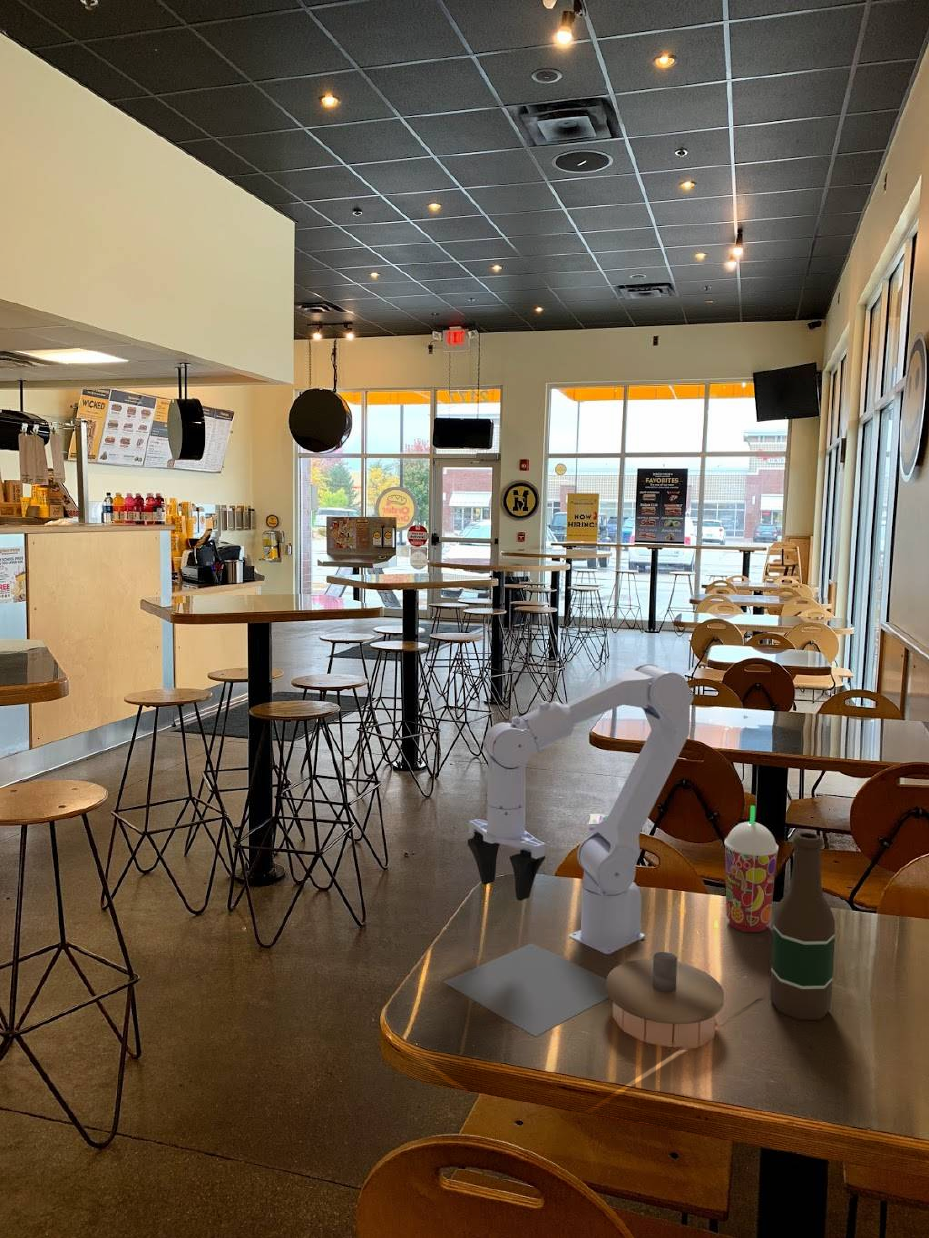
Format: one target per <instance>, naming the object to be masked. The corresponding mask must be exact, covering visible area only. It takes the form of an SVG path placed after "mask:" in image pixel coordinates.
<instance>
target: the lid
mask: <svg viewBox="0 0 929 1238" xmlns="http://www.w3.org/2000/svg"><path fill="white" fill-rule="evenodd" d="M606 979H607V980H606V990H607V993H608V996H609V999H610V1000H611V1002H612V1003H613V1002H614V1003H615V1004H616V1005H617V1006H618V1007H620V1008H621V1009H623V1010H624V1011H626V1012H628V1013H630V1014H632V1015H634V1016H637V1017H639V1018H642V1019H646V1020H649V1021H654V1022H659V1023H666V1024H690V1023H697V1022H701V1021H704V1020H707V1019H709V1018H712V1017H713V1016H715V1015H716V1016H717V1014H719V1012H721V1011H722V1009H723V1007H724V1001H725V1000H724V999H725V997H724V995H725V993H724V989H723V987H722V985H721V984H720V983H719V982H718V981H717V979H716V978H714V977H713V976H712V975H711V974H709V973H707V972H706V971H703V970H701V969H700V968H697V967H695V966H692V965H690V964H688V963H684V962H680V961H678V957H677V956H676V955H675V954H673V953H670V952H667V951H666V952H665V951H659V952H656V953H654V954H653V958H643V959H635V960H631V961H630V960H629V961H627V962H624V963H621V964H619V965H617V966H615V967H614V968H613V969H612V970H611V971H610V972H608V974H607V977H606Z"/></svg>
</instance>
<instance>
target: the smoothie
mask: <svg viewBox="0 0 929 1238" xmlns="http://www.w3.org/2000/svg"><path fill="white" fill-rule="evenodd" d="M755 815H756V806H754V805H750V816H749V817H750V818H749V821H744V822H741V823H738V824H737V825H735V826H734V827H733V828H731V830H730V832H729V833H728V835H727V837H726V838H725V839H724V841H723V842H724V845H725V846H724V862H725V863H724V864H725V872H724V873H725V897H726V898H725V902H726V903H725V906H726V908H725V909H726V912H725V913H726V917H727V919H728V920H729V921H728V922H729V924H730V926H731V927H733V928H734V929H736V930H738V931H741V932H744V933H761V932H763V931H765V930H766V929H767V925H768V924H770V922H771V914H772V913H771V912H772V905H773V896H774V887H775V879H776V869H777V862H778V852H779V845H778V844H777V843H776V839H775V836H774V835H773V834H772V832H771V831H770V830H769V829H768V828H767V827H766V826H764V825H763V824H761V823H759V822H756V821H755Z"/></svg>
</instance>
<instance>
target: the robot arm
mask: <svg viewBox="0 0 929 1238" xmlns="http://www.w3.org/2000/svg"><path fill="white" fill-rule="evenodd" d="M694 699H695V698H694V695H693V692H692V690H691V687H690V685H689V684H688V681H687V680H686V678H685V677H684V676H682V674H679V673H677V672H674V671H668V670H667V669H663V668H661V667H659V666H658V665H655V664H652V663H643V664H640V665H638V666H636V667H635V668H630V669H627V670H624V671H623V672H622V673H620V674H619V675H618V676H616V677H615V678H613V679H610V680H608V681H607V682H605V683H603V684H602V685H599V686H598V687H595V688H594V689H592V690H589V692H587V693H583V695H581V696H579V697H577V698H575V699H573V700H571V701H569V702H567V703H565V704H564V703H561V702H559V701H555V700H554V701H552V702H549V701H547V700H545V701H544V700H543V701H542V702H540V703H539V704H538V705H539V708H536V709H534V710H532V711H530V712H527V713H526V714H524V715H522V716H518V715H515V716H513V717H511V718H510V720H511V723H510V722H504V721H503V722H502V721H501V722H499V723H495V724H494V725H493V726H491V727H490V728H489V731H487V733H486V735H485V737H484V739H483V740H482V743H483V747H484V751H485V752H486V753H487V754H488V768H487V769H488V772H487V797H486V798H487V800H486V801H487V802H486V803H487V808H486V812H487V813H486V815H487V818H486V820H484V819H482V818H481V819H480V818H476V819H472V820H469V822H468V834H470V835H473V837H471V838H469V839H467V846H468V848H469V849H470V850H471V852H472V855H473V858H474V859H475V863H476V866H477V868H478V869H477V870H478V874H479V877H480V881H481V884H482V885H484V886H486V885H489V884H491V883H492V884H493V882H495V879H496V870H497V858H498V853H499V852H498V851H499V849H500V844H501V845H504V846H507V847H510V848H512V849H515V850H517V851H519V853H517V854H513V855H510V856H509V860H510V861H509V862H510V863H511V865H512V870H513V873H514V874H513V875H514V884H515V885H514V886H515V890H514V891H515V897H516V900H517V901H519V902H520V901H523V900H527V899H529V898H530V897H531V896H530V895H531V893H532V892H531V890H532V888H533V884H534V881H535V878H536V876H537V873H538V872H539V869H540V867H541V865H542V864H543V862H544V860H545V859H546V843H545V842H543V841H541V840H539V839H537V838H536V837H534V836H533V835H532V834H530V833H529V832H528V831H526V788H527V784H526V782H527V781H526V777H527V776H526V764H527V763H528V761H529V760H530V759H531V756H532V755H533V754H534V753H537V752H539V751H541V750H544V749H545V748H547V747H549V746H552V745H553V744H556V743H559V742H560V741H562V740H564V739H566V738H569V737H570V736H571V735H572V734H573V731H574V729H575V727H576V725H577V724H579V723H582V722H584V721H587V720H589V719H592V718H594V717H596V716H597V717H598V716H599V715H602V714H604V713H606V712H608V711H611V710H613V709H615V708H618V707H621V706H629V707H634V708H635V707H636V708H640V709H642V711H643V712H644V715H645V717H646V719H647V722H648V724H649V727H650V733H649V735H648V736H647V738H646V740H645V742H644V744H643V746H642V748H641V750H640V752H639V754H638V756H637V758H636V760H635V762H634V764H633V766H632V768H631V770H630V772H629V774H628V776H627V778H626V780H625V783H624V784H623V786H622V787H621V788H622V789H621V791H620V792H619V794H618V796H617V798H616V801H615V803H614V804H613V806H612V808H611V810H610V813H608V814H609V816H608V818H607V819H606V820H604V821H602V822H601V823H599V824H597V825H596V826H595V828H594V830H593V832H592V833H591V835H590V836H588V837H587V836H586V838H584V839H583V840H582V842H581V843H580V844H579V846H578V849H577V855H576V857H577V861H578V864H579V866H580V867H581V868H582V869H583V877H582V878H581V879H582V880H581V908H580V909H581V910H580V912H581V915H580V917H581V919H580V929H579V930H577V931H575V932H573V933H570V934H569V935H568V937H569V938H570V939H573V940H574V941H577V942H578V943H581V944H583V945H585V946H588V947H589V948H592V949H595V950H597V951H598V952H601V953H603V954H605V955H611V954H612V953H614V952H616V951H619V950H621V949H623V948H625V947H626V946H629V945H631V944H633V943H635V942H637V941H641V940H643V939H645V937H646V936H645V934H644V933H642V932H641V929H642V928H641V925H642V924H641V923H642V922H641V921H642V919H641V918H642V895H641V892H640V890H639V887H638V885H637V884H636V882H634V881H635V877H636V870H637V869H636V867H637V862H638V860H639V858H640V855H641V849H640V842H639V841H640V839H639V836H640V834H641V833H642V831H643V827H644V826H645V824H646V822H647V820H648V818H649V816H650V814H651V812H652V810H653V808H654V806H655V804H656V802H657V800H658V798H659V796H660V794H661V792H662V790H663V788H664V786H665V784H666V782H667V780H668V778H669V776H670V774H671V772H672V770H673V768H674V766H675V764H676V762H677V760H678V758H679V755H680V754H681V752H682V749H683V748H684V746H685V744H686V742H687V740H688V738H689V736H690V726H691V725H690V723H691V722H690V721H691V720H690V719H691V718H690V717H691V716H690V715H691V712H690V711H691V706H692V703H693V701H694Z"/></svg>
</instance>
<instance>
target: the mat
mask: <svg viewBox="0 0 929 1238" xmlns="http://www.w3.org/2000/svg"><path fill="white" fill-rule="evenodd" d="M606 980H607V978H605V977H602V976H600V975H598V974H596V973H594V972H592V971H590V970H588V969H586V968H584V967H582V966H580V965H578V964H576V963H575V962H572V961H569V960H568V959H566V958H564V957H561V956H559V955H558V954H556V953H553V952H551V951H549V950H547V949H545V948H543V947H541V946H539V945H537V944H535V943H533V942H530V943H529V944H526V945H524V946H522V947H520V948H518V949H515V950H513V951H511V952H508V953H505V954H504V955H502V956H500V957H497V958H494V959H492V960H491V961H488V962H485V963H483V964H480V965H478V966H476V967H474V968H472V969H470V970H466V971H465V972H462V973H460V974H458V975H456V976H453V977H451V978H449V979H447V980H444V981H443V983H444V984H446V985H447V986H448V987H451V988H452V989H453V990H455V991H456V992H459V993H460V994H462V995H464V996H465V997H467V998H469V999H470V1000H473V1001H474V1002H475V1003H478V1004H479V1005H481V1006H482V1007H484V1008H486V1009H488V1010H489V1011H491V1012H493V1014H496V1015H498V1016H499V1017H501V1018H502V1019H504V1020H506V1021H508V1022H510V1023H511V1024H513V1025H515V1026H517V1027H518V1028H519V1029H521V1030H523V1031H524V1032H527V1033H528V1034H530V1035H532V1037H535V1038H537V1037H538V1036H541V1035H543V1034H544V1033H546V1032H548V1031H550V1030H551V1029H554V1028H555V1027H557V1026H560V1025H561V1024H563V1023H564V1022H566V1021H568V1020H570V1019H572V1018H575V1017H576V1016H577V1015H579V1014H581V1013H583V1012H585V1011H587V1010H589V1009H591V1008H592V1007H594V1006H596V1005H598V1004H600V1003H601V1002H604V1001H606V1000H607V999H610V997H609V996H608V993H607V990H606Z"/></svg>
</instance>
